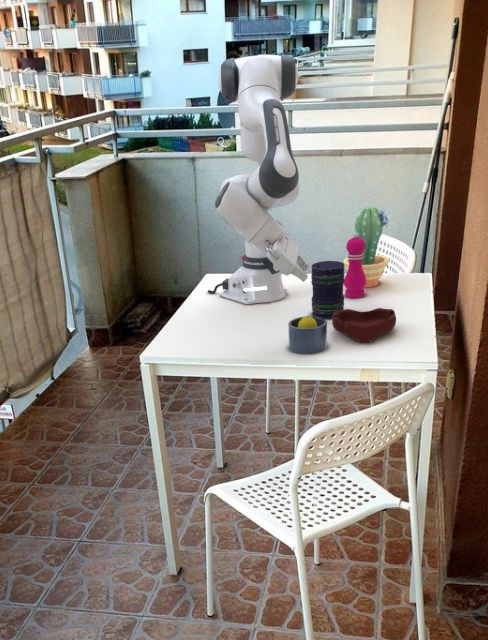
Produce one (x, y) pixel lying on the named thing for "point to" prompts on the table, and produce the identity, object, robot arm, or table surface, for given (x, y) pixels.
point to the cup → (307, 336)
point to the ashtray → (364, 323)
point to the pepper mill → (355, 268)
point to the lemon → (307, 323)
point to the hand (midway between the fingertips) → (306, 273)
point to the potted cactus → (371, 243)
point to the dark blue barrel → (327, 288)
